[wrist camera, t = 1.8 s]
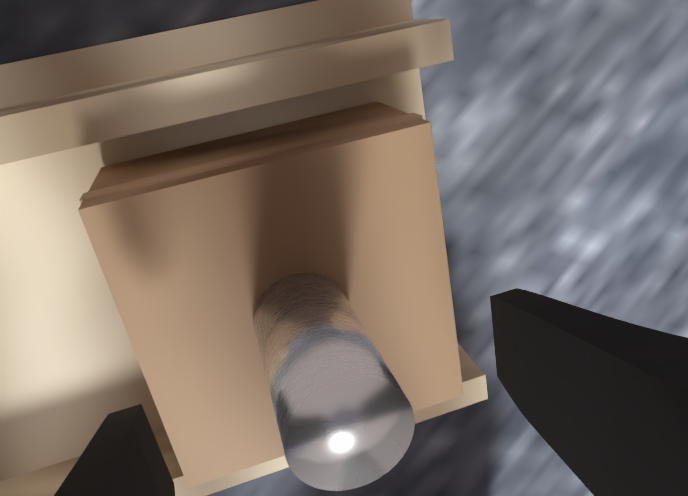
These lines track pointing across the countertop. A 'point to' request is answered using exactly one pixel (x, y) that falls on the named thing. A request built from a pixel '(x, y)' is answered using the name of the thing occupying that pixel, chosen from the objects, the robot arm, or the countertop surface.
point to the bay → (140, 141)
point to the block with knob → (285, 292)
